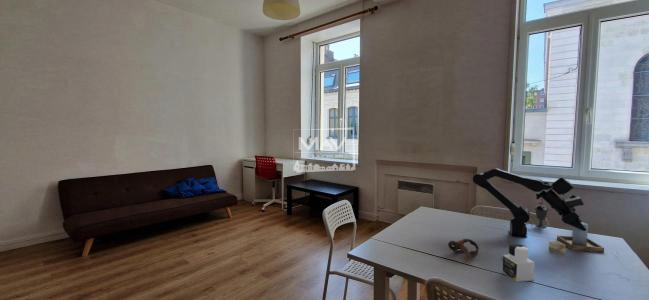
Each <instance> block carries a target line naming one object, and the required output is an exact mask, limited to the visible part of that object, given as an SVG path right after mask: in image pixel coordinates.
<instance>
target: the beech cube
mask: <svg viewBox="0 0 649 300" xmlns="http://www.w3.org/2000/svg"><path fill="white" fill-rule="evenodd" d="M566 247H567V246H566V245H565V244H563V243H561V242H560V241H558V240H555V241H554V240H549V241H548V250H549V251H551V252H552V253H554V254H557V255H558V254H563V255H564V254H566Z"/></svg>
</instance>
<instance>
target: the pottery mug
mask: <svg viewBox="0 0 649 300" xmlns="http://www.w3.org/2000/svg"><path fill="white" fill-rule="evenodd" d="M465 243H470V245H472V246H473V247H474V248H475V250H470V252H469V249H468V248H467V247H466V246H465V245H464V244H465ZM447 245H448V249H450V250H451V251H453V253H454V254H456V253H457V251H458V250H457V249H461V250H460V251H462V252H464V254H465V257H464V259H465V258H467V259H469V260H470V259H473V258H475V257H478V254H479V250H480V248H479V245H478V244H477V243H476V242H475V241H473V239H469V238H462V239H461V240H458V241H454V240H451V241H450V240H449V242H448V243H447ZM467 259H466V260H467Z"/></svg>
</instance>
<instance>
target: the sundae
mask: <svg viewBox="0 0 649 300" xmlns="http://www.w3.org/2000/svg"><path fill="white" fill-rule="evenodd" d="M534 210H535V215H536V216H535V217H536V218H537V219H538V221H539V223H537V224H535V227H537V228H540V229H546V228H547V226H546V225H544V224H543V221H544V220H546V219H547V214H548V212H549V211H550V209H549V208H548V207H547V206H545V203H544V200H543V199H541V202H539V203H538V204H537V205H536V206H534Z"/></svg>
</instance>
